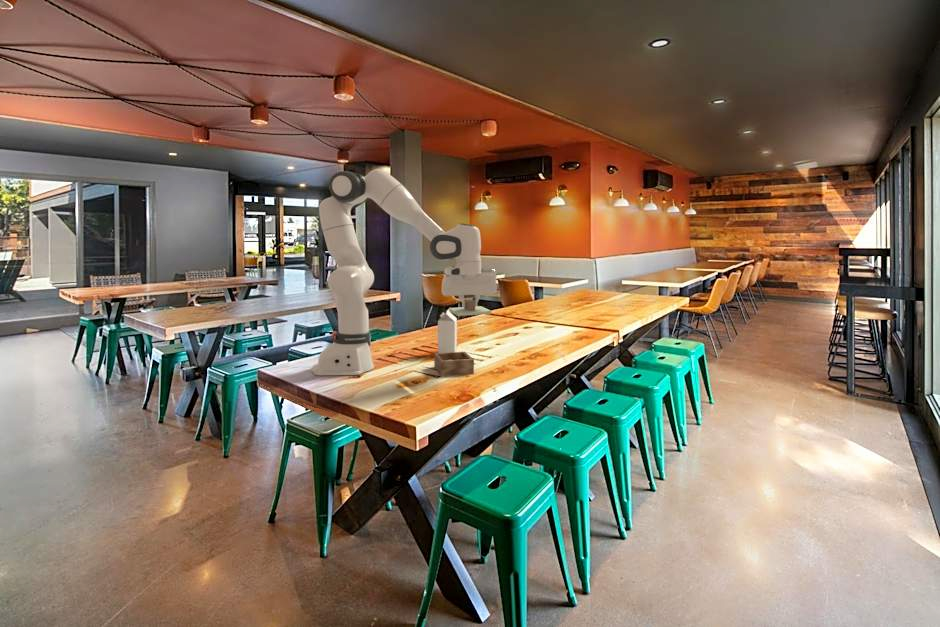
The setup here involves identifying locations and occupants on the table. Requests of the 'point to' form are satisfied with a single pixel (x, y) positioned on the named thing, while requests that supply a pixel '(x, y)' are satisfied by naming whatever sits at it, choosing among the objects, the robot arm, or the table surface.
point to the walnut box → (453, 363)
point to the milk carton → (447, 333)
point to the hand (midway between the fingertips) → (469, 307)
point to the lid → (470, 309)
